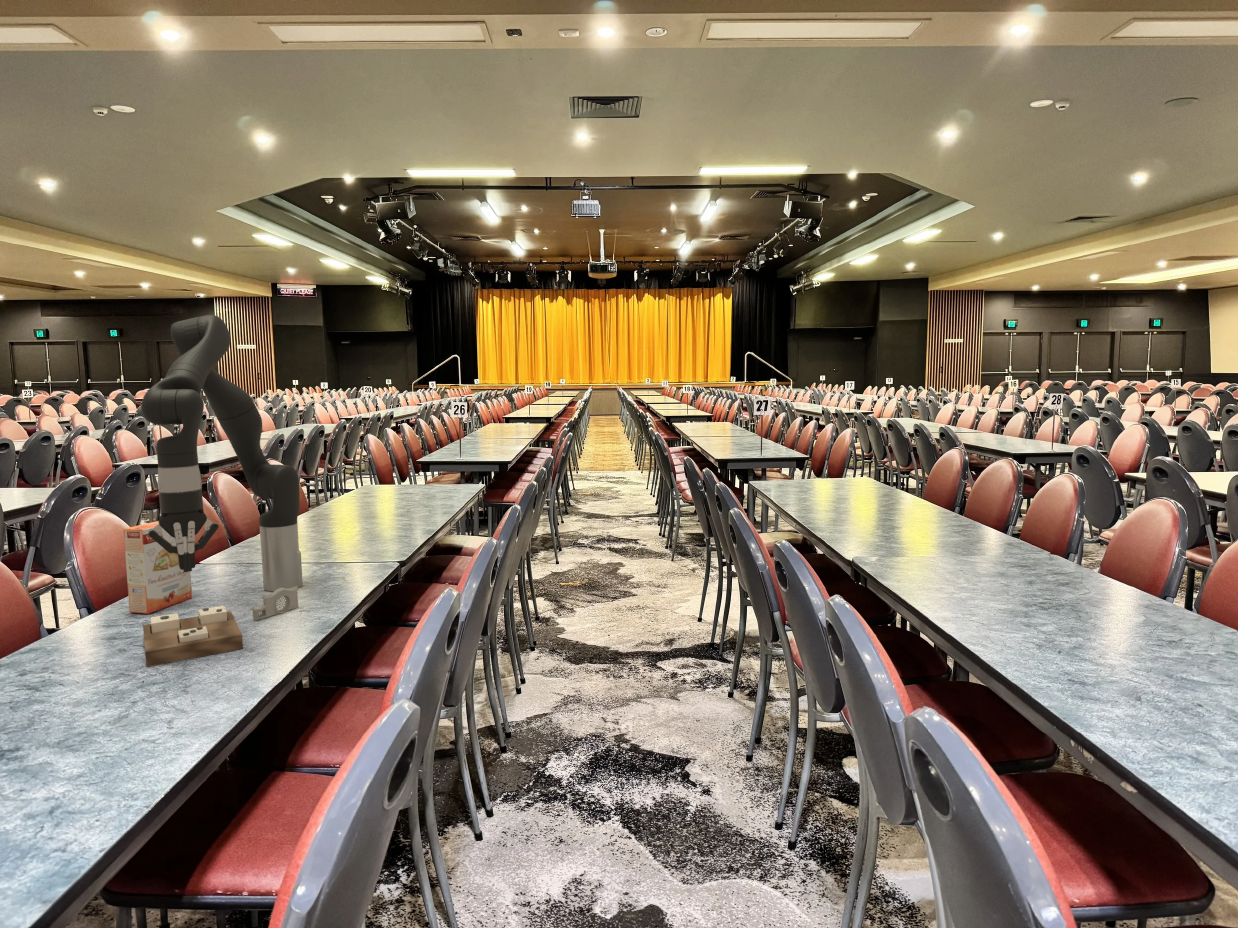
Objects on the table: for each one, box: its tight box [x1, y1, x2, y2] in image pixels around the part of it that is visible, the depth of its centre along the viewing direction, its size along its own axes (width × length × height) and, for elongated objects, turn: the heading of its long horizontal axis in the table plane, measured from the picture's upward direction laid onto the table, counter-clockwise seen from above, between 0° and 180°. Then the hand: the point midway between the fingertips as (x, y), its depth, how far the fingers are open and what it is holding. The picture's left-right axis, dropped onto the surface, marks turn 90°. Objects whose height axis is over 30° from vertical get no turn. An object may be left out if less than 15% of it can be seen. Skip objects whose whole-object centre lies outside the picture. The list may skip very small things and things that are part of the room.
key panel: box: [142, 610, 244, 668], centre depth 156 cm, size 17×19×3 cm
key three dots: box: [178, 626, 208, 643], centre depth 151 cm, size 5×5×4 cm
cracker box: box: [123, 520, 193, 615], centre depth 181 cm, size 14×6×21 cm, turn 168°
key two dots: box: [198, 605, 227, 625], centre depth 162 cm, size 5×5×4 cm
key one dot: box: [150, 612, 180, 633], centre depth 157 cm, size 5×5×4 cm
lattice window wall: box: [250, 586, 300, 621], centre depth 175 cm, size 12×2×6 cm, turn 152°
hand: (187, 570), depth 151 cm, fingers closed
